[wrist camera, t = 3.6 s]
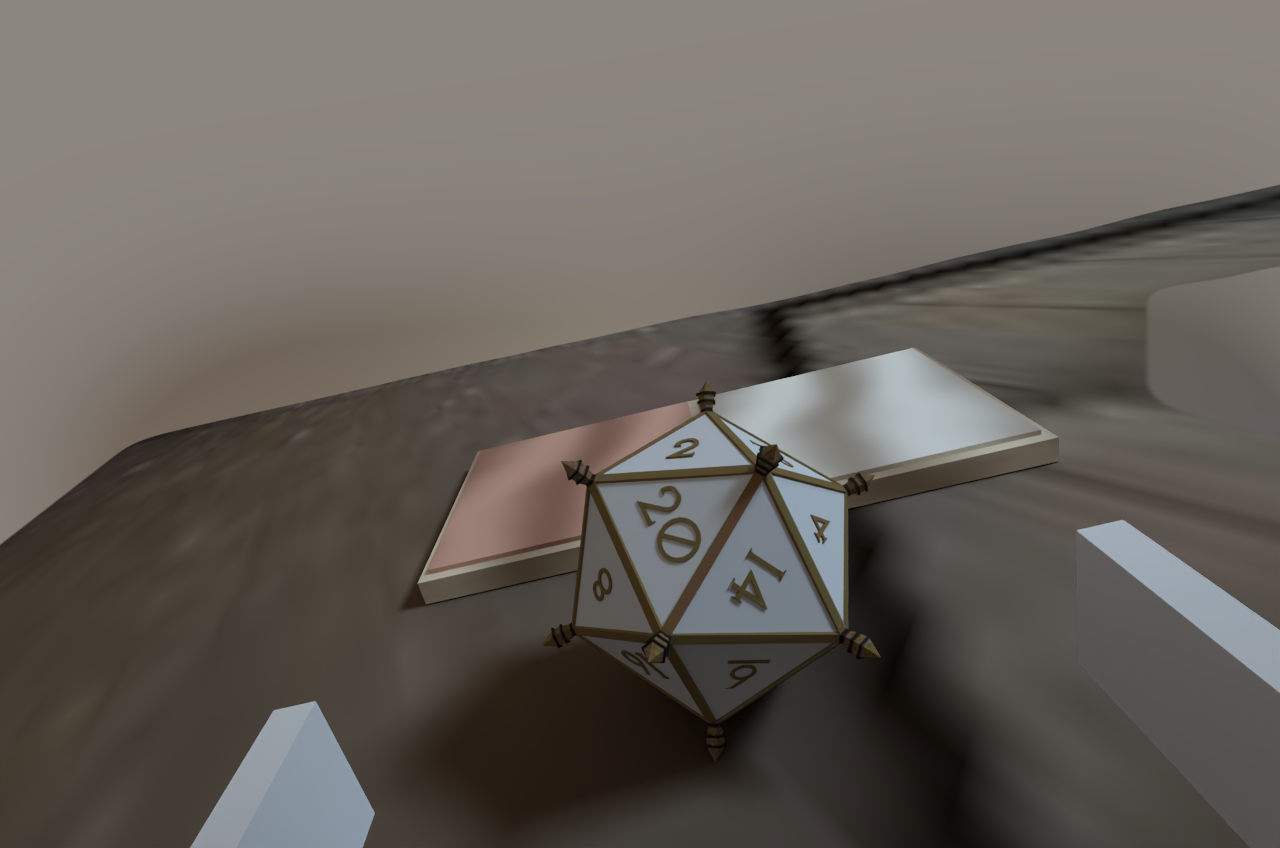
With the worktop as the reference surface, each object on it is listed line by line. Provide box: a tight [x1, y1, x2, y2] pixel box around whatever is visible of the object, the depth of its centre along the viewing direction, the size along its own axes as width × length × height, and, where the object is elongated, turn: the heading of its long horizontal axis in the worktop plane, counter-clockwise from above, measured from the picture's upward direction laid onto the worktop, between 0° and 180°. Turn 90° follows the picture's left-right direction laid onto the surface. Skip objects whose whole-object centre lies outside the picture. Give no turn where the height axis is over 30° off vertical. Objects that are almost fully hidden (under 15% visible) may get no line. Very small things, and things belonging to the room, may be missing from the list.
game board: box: [418, 348, 1059, 604], centre depth 33 cm, size 25×13×1 cm, turn 92°
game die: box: [543, 381, 881, 762], centre depth 19 cm, size 9×8×10 cm
